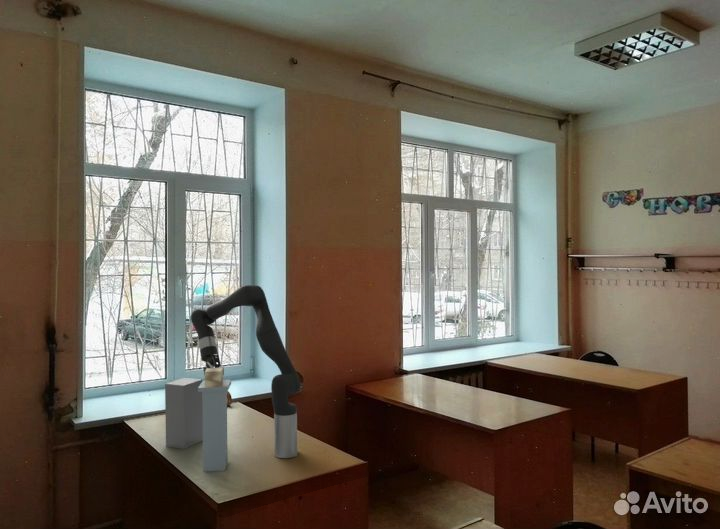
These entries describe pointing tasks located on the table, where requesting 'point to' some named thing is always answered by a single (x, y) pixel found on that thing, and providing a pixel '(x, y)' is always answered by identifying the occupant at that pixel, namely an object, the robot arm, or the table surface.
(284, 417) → the robot arm
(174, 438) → the grey tall block
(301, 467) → the table surface
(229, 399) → the tin
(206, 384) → the brown wooden bar
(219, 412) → the tall plinth
